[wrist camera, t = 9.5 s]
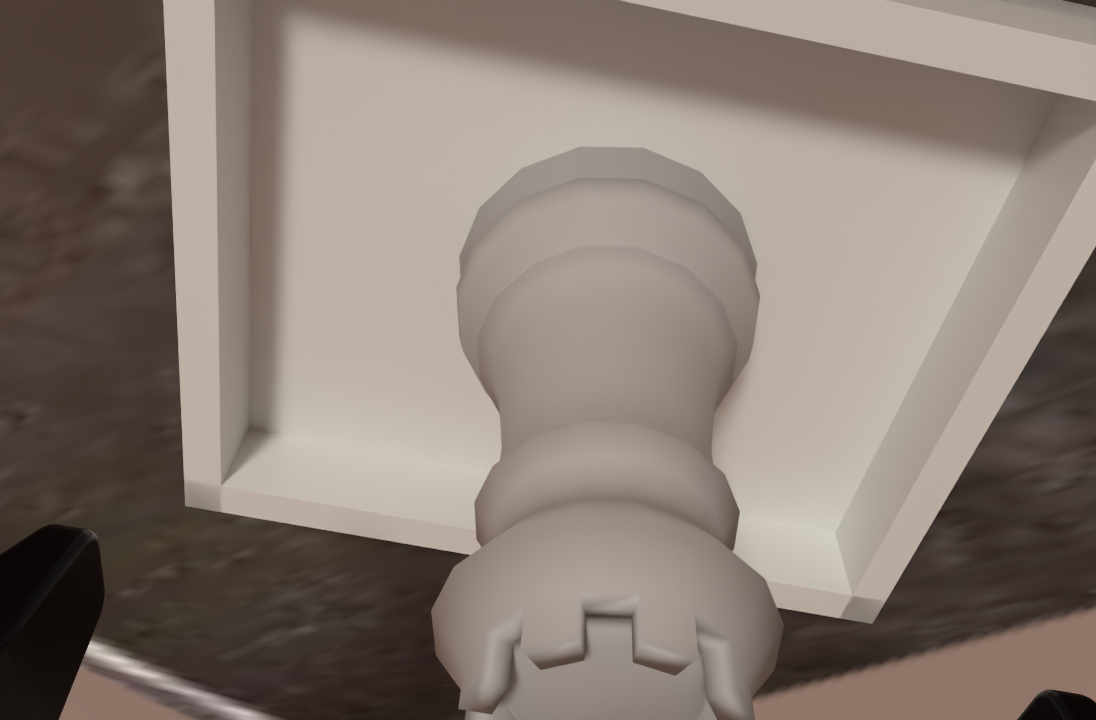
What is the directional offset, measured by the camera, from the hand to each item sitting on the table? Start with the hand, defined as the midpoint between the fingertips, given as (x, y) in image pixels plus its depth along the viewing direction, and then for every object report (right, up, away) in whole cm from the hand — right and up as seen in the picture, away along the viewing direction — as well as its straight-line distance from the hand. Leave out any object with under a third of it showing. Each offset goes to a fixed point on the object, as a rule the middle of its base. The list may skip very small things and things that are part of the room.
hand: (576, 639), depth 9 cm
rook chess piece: (+1, +4, +6) cm, 7 cm away
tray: (+1, +5, +7) cm, 8 cm away
